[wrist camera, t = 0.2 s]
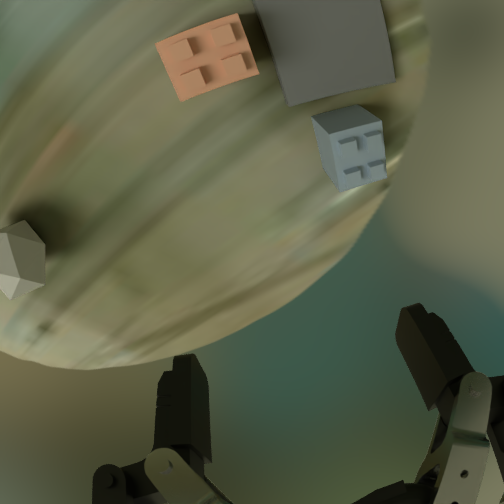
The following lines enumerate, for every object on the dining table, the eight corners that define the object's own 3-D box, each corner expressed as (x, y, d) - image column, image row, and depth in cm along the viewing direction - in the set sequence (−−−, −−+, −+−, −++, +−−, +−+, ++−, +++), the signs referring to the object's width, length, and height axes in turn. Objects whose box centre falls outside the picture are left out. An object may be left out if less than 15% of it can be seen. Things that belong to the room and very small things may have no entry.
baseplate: (223, -70, 14) (224, -73, 13) (345, -84, 13) (350, -87, 12) (286, 103, 26) (289, 106, 25) (389, 79, 25) (395, 82, 24)
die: (-8, 216, 29) (-22, 291, 26) (1, 203, 24) (-17, 296, 22) (43, 232, 35) (31, 303, 33) (63, 224, 30) (49, 309, 28)
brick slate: (310, 116, 27) (332, 137, 23) (357, 104, 27) (386, 123, 23) (322, 167, 31) (343, 196, 27) (365, 155, 31) (390, 182, 27)
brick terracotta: (184, 88, 24) (179, 104, 20) (163, 40, 21) (153, 44, 16) (250, 65, 23) (260, 75, 19) (231, 15, 20) (238, 12, 16)
